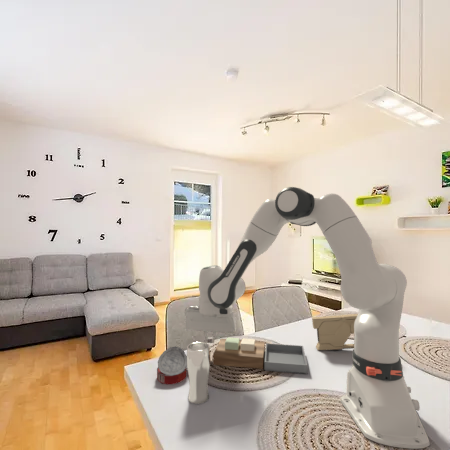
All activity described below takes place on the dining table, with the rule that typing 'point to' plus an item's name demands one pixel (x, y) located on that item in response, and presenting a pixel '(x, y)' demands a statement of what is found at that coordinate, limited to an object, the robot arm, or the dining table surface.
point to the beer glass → (198, 371)
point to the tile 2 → (248, 344)
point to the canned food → (172, 366)
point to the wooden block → (239, 356)
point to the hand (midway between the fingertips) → (210, 342)
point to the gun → (334, 331)
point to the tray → (285, 358)
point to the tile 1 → (232, 343)
